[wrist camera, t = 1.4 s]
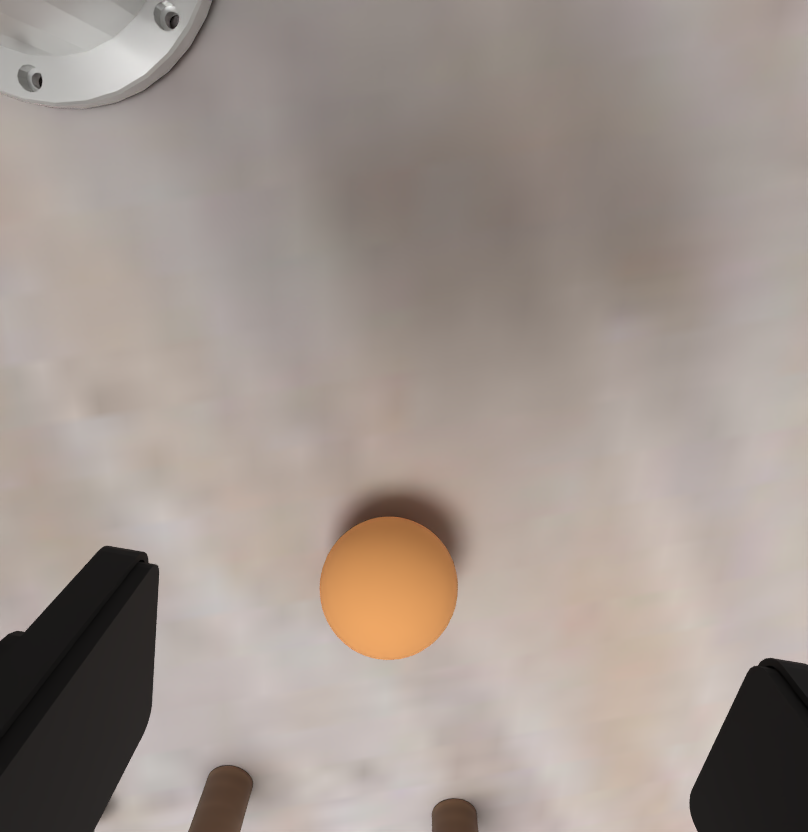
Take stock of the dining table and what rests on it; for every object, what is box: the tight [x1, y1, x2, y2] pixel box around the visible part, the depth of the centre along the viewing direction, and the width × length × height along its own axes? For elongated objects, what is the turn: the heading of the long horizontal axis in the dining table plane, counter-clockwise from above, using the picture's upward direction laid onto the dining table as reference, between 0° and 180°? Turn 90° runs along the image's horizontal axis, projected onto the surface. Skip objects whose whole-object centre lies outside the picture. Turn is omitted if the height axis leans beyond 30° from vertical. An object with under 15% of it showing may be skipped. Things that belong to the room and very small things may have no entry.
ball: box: [320, 517, 458, 660], centre depth 27 cm, size 6×6×6 cm
